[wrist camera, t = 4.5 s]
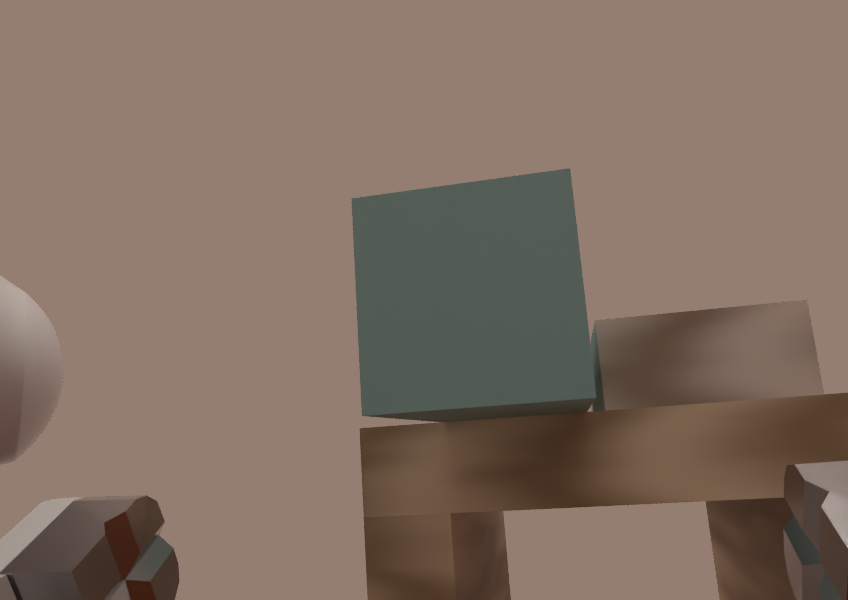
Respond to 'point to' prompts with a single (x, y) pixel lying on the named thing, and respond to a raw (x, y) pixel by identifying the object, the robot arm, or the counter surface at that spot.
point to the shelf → (616, 454)
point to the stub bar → (472, 301)
